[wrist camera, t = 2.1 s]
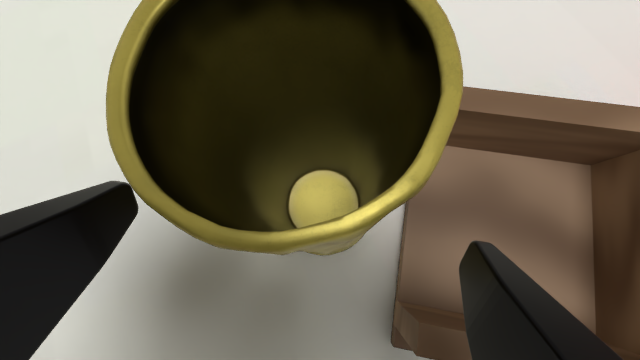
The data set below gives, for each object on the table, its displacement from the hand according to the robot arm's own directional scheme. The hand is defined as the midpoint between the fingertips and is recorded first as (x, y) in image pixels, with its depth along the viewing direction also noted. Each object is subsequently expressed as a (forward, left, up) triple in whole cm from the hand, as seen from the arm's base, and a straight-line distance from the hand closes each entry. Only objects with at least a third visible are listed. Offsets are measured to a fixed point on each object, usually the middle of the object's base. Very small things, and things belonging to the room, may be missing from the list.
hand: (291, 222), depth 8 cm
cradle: (+2, -10, -10) cm, 15 cm away
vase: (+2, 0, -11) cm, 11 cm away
